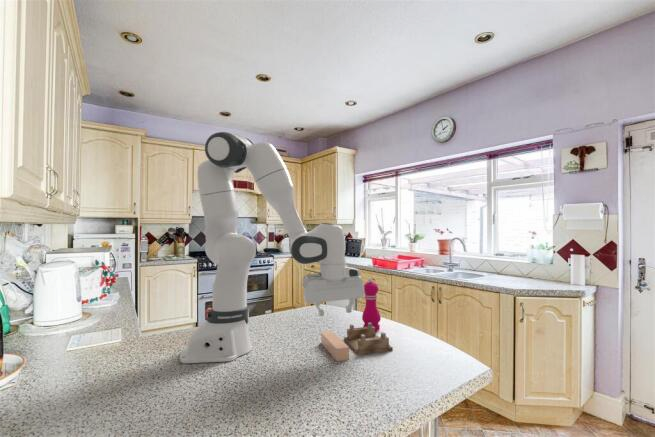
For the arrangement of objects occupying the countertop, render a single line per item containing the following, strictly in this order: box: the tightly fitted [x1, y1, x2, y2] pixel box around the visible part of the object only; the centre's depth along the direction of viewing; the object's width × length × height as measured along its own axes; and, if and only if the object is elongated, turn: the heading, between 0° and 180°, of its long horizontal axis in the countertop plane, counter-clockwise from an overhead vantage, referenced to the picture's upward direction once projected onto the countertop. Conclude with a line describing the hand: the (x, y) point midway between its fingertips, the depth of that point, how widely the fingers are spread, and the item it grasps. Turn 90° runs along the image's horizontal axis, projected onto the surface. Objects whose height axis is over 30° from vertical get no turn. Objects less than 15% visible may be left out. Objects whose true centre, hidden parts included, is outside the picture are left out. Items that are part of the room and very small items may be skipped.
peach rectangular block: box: [320, 330, 350, 362], centre depth 104 cm, size 4×16×4 cm, turn 18°
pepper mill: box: [361, 277, 381, 332], centre depth 125 cm, size 7×7×20 cm
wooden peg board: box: [343, 322, 394, 356], centre depth 108 cm, size 12×14×6 cm
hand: (335, 313), depth 104 cm, fingers open, 8 cm apart
